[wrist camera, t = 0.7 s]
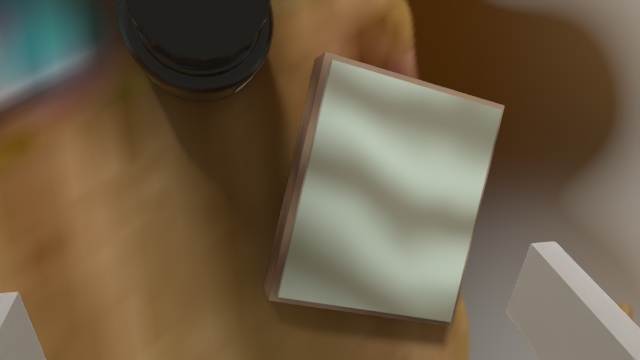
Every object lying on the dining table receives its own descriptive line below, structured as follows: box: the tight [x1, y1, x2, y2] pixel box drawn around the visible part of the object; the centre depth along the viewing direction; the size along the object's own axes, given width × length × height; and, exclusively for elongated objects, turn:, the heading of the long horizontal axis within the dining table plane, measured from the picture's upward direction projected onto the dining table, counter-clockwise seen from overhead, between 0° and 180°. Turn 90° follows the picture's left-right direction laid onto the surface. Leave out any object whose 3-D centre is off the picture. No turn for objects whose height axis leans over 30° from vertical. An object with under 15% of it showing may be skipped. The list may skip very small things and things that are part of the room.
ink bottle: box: [118, 0, 274, 101], centre depth 27 cm, size 10×9×12 cm
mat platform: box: [263, 52, 504, 326], centre depth 35 cm, size 18×15×4 cm
